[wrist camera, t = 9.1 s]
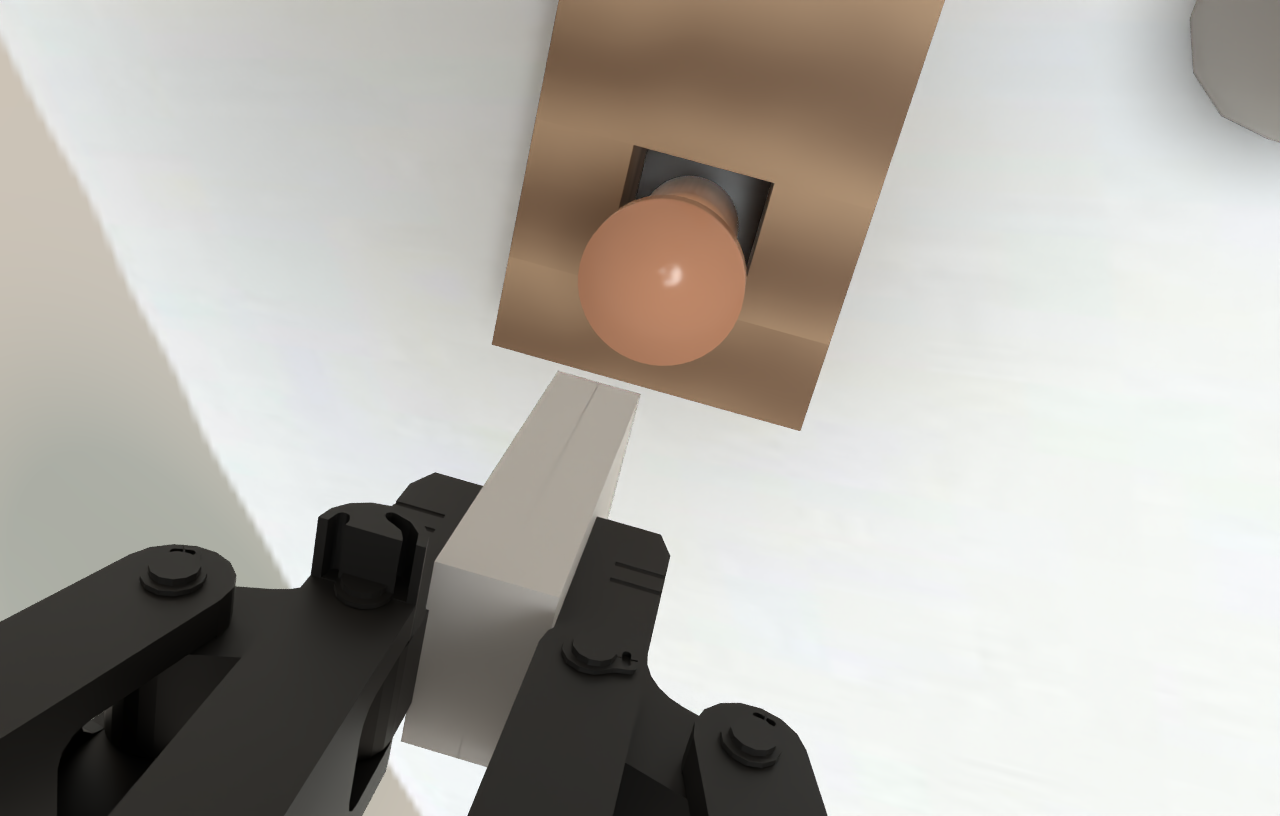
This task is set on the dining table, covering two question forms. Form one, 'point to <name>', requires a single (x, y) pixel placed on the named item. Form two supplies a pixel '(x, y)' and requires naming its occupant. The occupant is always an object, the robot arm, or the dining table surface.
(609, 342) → the plug terracotta
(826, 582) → the dining table surface
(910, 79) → the socket block
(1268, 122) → the cup
